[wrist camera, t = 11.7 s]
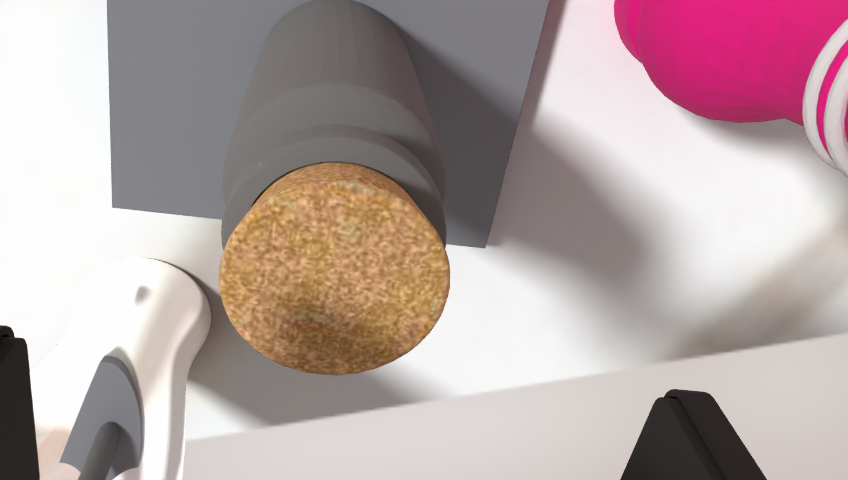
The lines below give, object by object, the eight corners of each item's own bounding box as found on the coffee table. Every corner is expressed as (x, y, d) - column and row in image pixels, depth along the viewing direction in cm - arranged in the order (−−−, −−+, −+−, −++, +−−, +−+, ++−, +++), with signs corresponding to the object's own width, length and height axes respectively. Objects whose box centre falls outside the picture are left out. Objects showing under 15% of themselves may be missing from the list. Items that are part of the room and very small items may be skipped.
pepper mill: (744, 84, 31) (1277, 394, 13) (586, 78, 30) (936, 402, 12) (798, -98, 27) (1613, 0, 10) (620, -112, 26) (1175, -30, 9)
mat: (562, -88, 26) (571, -86, 25) (480, 235, 33) (485, 248, 32) (112, -181, 23) (101, -182, 22) (119, 195, 30) (112, 207, 29)
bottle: (440, 52, 27) (535, 248, 14) (358, 169, 29) (376, 432, 16) (309, -38, 25) (281, 95, 12) (231, 94, 27) (136, 329, 14)
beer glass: (240, 275, 33) (177, 560, 20) (197, 385, 35) (117, 698, 22) (84, 227, 31) (-103, 509, 18) (51, 347, 33) (-131, 667, 20)
